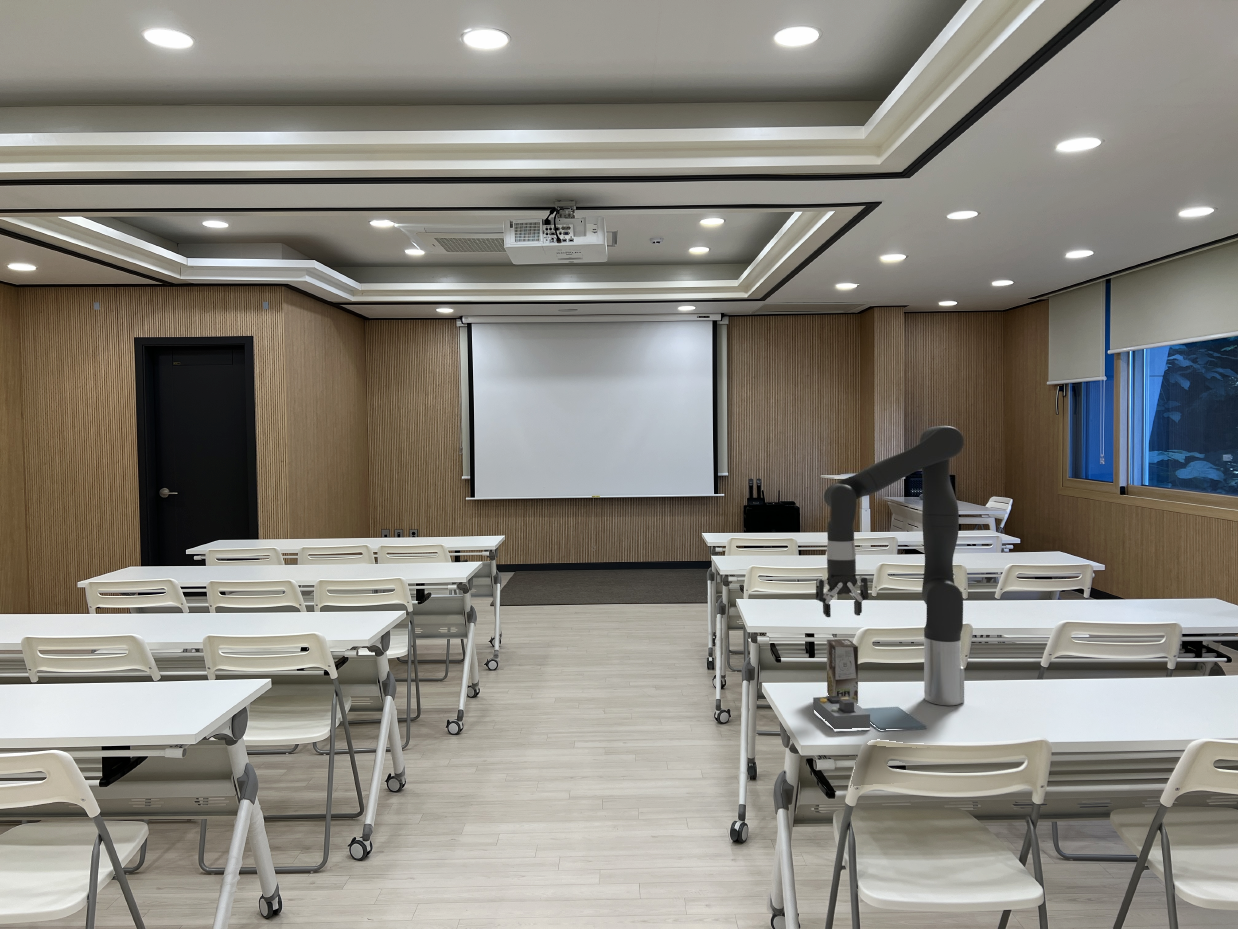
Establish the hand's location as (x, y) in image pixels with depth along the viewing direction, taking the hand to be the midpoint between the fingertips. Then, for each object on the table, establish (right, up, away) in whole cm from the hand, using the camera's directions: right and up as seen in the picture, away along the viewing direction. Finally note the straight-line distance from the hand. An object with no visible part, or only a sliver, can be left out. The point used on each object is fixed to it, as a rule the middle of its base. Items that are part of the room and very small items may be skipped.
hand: (842, 616), depth 204 cm
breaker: (-4, -20, -18) cm, 28 cm away
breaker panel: (-5, -24, -15) cm, 28 cm away
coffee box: (0, -24, +1) cm, 24 cm away
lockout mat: (+8, -24, -14) cm, 29 cm away
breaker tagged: (-5, -22, -11) cm, 25 cm away
